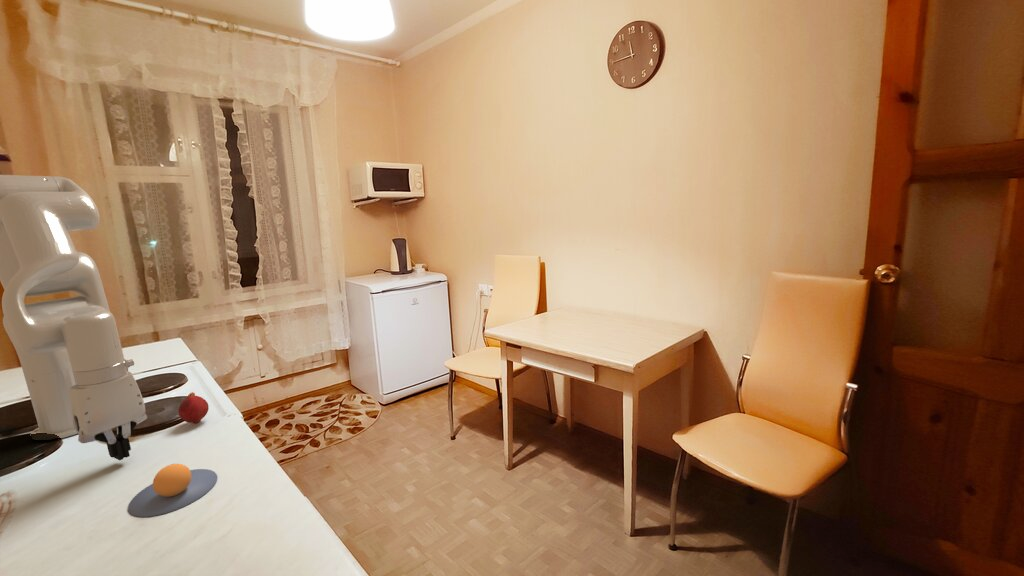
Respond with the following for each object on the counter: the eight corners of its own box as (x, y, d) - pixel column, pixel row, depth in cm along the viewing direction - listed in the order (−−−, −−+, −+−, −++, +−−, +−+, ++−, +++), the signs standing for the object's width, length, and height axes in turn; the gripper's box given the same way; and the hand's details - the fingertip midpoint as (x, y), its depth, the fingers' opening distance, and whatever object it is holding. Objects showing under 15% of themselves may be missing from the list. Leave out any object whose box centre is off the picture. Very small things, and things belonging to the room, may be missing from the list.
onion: (195, 430, 101) (189, 399, 99) (175, 428, 102) (168, 397, 101) (216, 418, 107) (210, 388, 105) (197, 416, 108) (191, 387, 106)
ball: (150, 470, 74) (165, 498, 74) (186, 453, 79) (200, 479, 78) (144, 480, 77) (157, 507, 76) (179, 463, 82) (192, 488, 81)
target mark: (113, 504, 76) (113, 503, 76) (193, 463, 87) (193, 462, 87) (151, 526, 70) (151, 525, 70) (232, 479, 82) (231, 478, 81)
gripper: (137, 358, 93) (154, 435, 96) (40, 385, 80) (64, 473, 83) (155, 363, 90) (172, 442, 93) (57, 391, 76) (81, 483, 80)
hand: (121, 456), depth 88 cm, fingers closed
